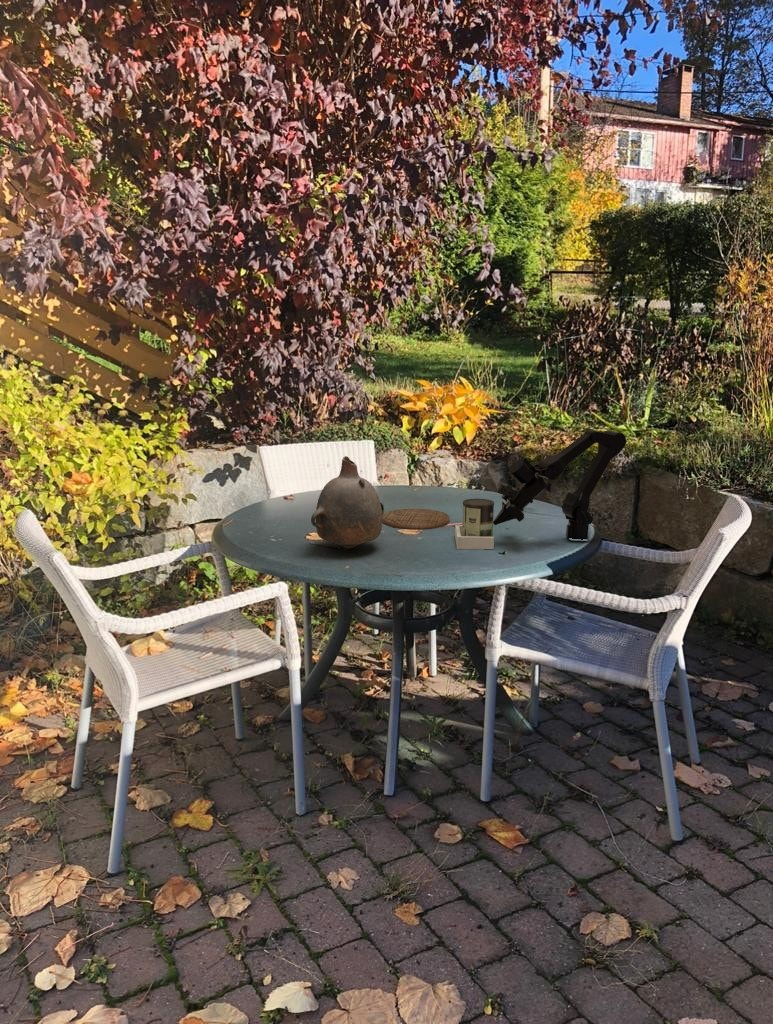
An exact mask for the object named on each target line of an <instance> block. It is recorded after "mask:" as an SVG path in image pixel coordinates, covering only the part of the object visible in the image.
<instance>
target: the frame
mask: <svg viewBox="0 0 773 1024" xmlns="http://www.w3.org/2000/svg"><path fill="white" fill-rule="evenodd" d="M454 527H455V531H454V533H455V534H454V537H455V538H454V539H455V543H456V544H455V546H456V549H457V550H484V549H494V548H495V547H494V546H495V545H494V544H495V537H494V536H493V537H478V536H462V534H463V524H455V526H454Z"/></svg>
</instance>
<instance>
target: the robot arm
mask: <svg viewBox="0 0 773 1024" xmlns="http://www.w3.org/2000/svg"><path fill="white" fill-rule="evenodd" d="M594 444H597V453H596V455H595V457H594V458H593V461H592V463H591V464H590V466H589V468H588V470H587V472H586V473H585V474H584V476H583V479H582V481H581V482H580V483H579V485H578V487H577V489H576V490H575V491H573V492H570V491H569V492H567V494H566V496H565V498H564V499H563V501H561V502H562V505H561V510H562V513H563V514H564V516H565V520H568V522H567V523H568V524H566V526H565V529H566V530H565V536H566V538H567V539H568V538H572V539H581V540H583V539H589V527H590V526H589V525H592V523H593V521H594V517H593V516H592V514H590V513H589V512H588V510H589V508H590V499H591V495H592V494H593V492H594V491H595V489H596V488H597V487H596V486H597V485H598V483H599V482H600V480H601V478H602V477H603V475H604V473H605V471H606V470H607V468H608V466H609V464H610V462H611V461H612V460H613V459H615V457H617V456H618V455H620V453H621V452H622V451H623V450H624V448H625V447H626V445H627V438H626V435H625V434H624V433H622V432H618V431H614V430H610V429H609V430H605V431H604V432H602V431H596V430H592V429H587V430H586V431H584V432H583V434H582V435H580V436H579V437H577V438H576V439H575V440H574V441H573V442H571V443H570V444H569V445H567V446H566V447H564V448H563V449H562V450H561V451H559V452H558V453H557V454H554V455H549V456H548V457H546V458H544V459H542V460H541V461H540V462H538V463H536V464H531V462H530V461H529V460H528V458H526V457H524V456H522V457H521V458H520V459H518V460H516V461H514V462H512V464H511V465H510V467H509V468H508V472H509V473H510V474H511V476H512V477H514V479H516V480H517V482H518V483H520V484H523V485H522V486H517V487H516V488H515V487H513V485H509V483H505V482H503V481H500V482H499V483H498V486H497V487H496V493H498V494H500V495H501V496H500V497H501V499H502V500H504V501H501V509H500V511H499V512H498V513H497V515H496V516H495V519H493V526H497V525H500V524H502V523H505V522H509V521H512V520H517V521H518V522H519V523H520V522H522V521H523V520H524V519H525V512H524V511H525V508H527V506H528V505H529V504H532V503H534V500H535V499H536V498H537V497H538V496H539V495H540V494H541V493H542V492H543V491H544V490H546V491H547V492H548V493H551V492H552V483H551V482H550V481H555V480H557V479H558V478H560V476H561V475H562V474H563V473H564V472H565V470H566V468H567V466H568V465H569V464H570V463H572V462H573V461H574V460H576V459H577V458H578V457H579V456H580V455H581V454H583V453H584V452H586V451H587V450H588V449H589V448H591V447H592V446H594ZM537 475H538V476H537ZM545 479H547V480H550V481H546V480H545Z"/></svg>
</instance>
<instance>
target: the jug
mask: <svg viewBox="0 0 773 1024" xmlns="http://www.w3.org/2000/svg"><path fill="white" fill-rule="evenodd" d="M340 468H341V469H340V471H339V474H338V476H337V477H334V478H332V479H330V480H329V481H328V482H327V483H325V485H324V487H323V488H322V490H321V492H320V494H319V495H318V499H317V504H316V510H315V511H314V512H313V513H312V515H311V518H310V522H311V523H310V524H311V525H312V526H313V527H315V528H316V532H317V536H318V537H319V538H320V539H321V540H324V541H326V542H328V543H331V544H335V545H340V546H341V547H343V548H345V549H347V550H349V549H352V548H355V547H357V546H360V545H362V544H364V543H371V542H373V541H375V540H376V539H378V538H379V537H380V535H381V532H382V529H383V528H382V527H383V522H382V516H383V514H384V513H385V508H384V507H385V506H384V504H383V503H382V502H381V500H380V498H379V495H378V492H377V490H376V488H375V487H374V486H373V484H372V483H371V482H370V481H369V480H367V479H366V478H364V477H361V476H360V474H359V472H358V471H359V470H358V466H357V464H356V463H355V462H354V461H353V460H351V458H350V457H348V456H347V455H345V456H343V457H342V459H341V466H340Z"/></svg>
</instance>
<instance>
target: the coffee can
mask: <svg viewBox="0 0 773 1024" xmlns="http://www.w3.org/2000/svg"><path fill="white" fill-rule="evenodd" d="M494 507H495V502H494V501H493V500H492V499H487V498H469V499H468V498H467V499H463V500H462V525H463V534H462V536H478V537H494V534H493V533H494V524H493V521H494V512H495V510H494V509H495V508H494Z"/></svg>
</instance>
